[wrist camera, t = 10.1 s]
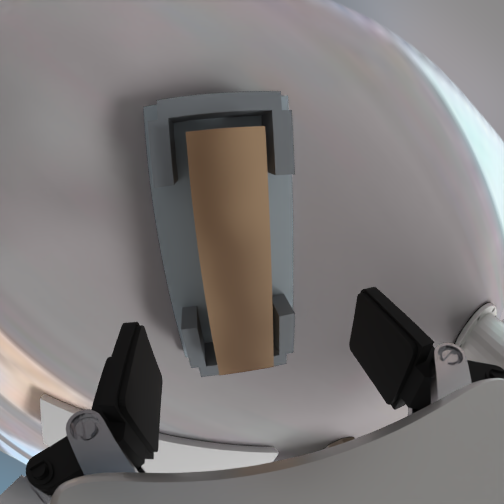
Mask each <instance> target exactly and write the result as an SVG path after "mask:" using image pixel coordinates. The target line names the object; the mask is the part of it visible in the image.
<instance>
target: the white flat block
mask: <svg viewBox="0 0 504 504" xmlns="http://www.w3.org/2000/svg"><path fill="white" fill-rule="evenodd" d="M40 411H41V425H42V435H43V443H44V444H45V445H47V446H51V445H53V444H54V443H56V442H58V441H59V440H61V439H62V438H64V437H66V436H67V434H66V424H67V422H68V420H69V418H70V417H71V416H72V415H73V414H75V413H76V412H78V411H81V409H79V408H76V407H74V406H71V405H69V404H66V403H64V402H62V401H59V400H57V399H55V398H53V397H51V396H49V395H46V394H43V395H42V397H41V398H40ZM278 454H279V452H278V451H277V450H276V449H275V448H274V447H262V446H244V445H231V444H221V443H213V442H205V441H198V440H192V439H186V438H180V437H175V436H170V435H165V434H161V433H159V447H158V452H154V459H145V463H144V464H143V465H142V467H143V468H144V469H145V471H146V472H147V473H183V472H202V471H215V470H225V469H233V468H241V467H248V466H254V465H260V464H265V463H270V462H273V461H274V460H275V458H276V457H277V455H278Z"/></svg>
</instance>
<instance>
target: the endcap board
mask: <svg viewBox="0 0 504 504" xmlns="http://www.w3.org/2000/svg"><path fill="white" fill-rule="evenodd" d="M144 124H145V137H146V149H147V159H148V169H149V178H150V186H151V193H152V201H153V208H154V214H155V221H156V227H157V233H158V239H159V244H160V250H161V255H162V261H163V266H164V271H165V275H166V280H167V285H168V289H169V294H170V298H171V303H172V307H173V311H174V315H175V319H176V323H177V327H178V331H179V335H180V339H181V342H182V346H183V350H184V353H185V357H188V358H189V362H190V365H191V368H195V367H199V371H200V374H201V377H205V376H213V375H219V370H218V365H217V360H216V355H215V350H214V345H213V339H212V334H211V328H210V323H209V317H208V311H207V305H206V299H205V293H204V287H203V280H202V274H201V267H200V260H199V253H198V246H197V238H196V230H195V222H194V214H193V205H192V196H191V187H190V177H189V166H188V155H187V143H186V132H189V131H198V130H208V129H220V128H233V127H252V126H265V133H266V151H267V171H268V192H269V214H270V240H271V269H272V305H273V355H274V366H277V365H283V364H286V356H287V354H288V353H293V352H294V328H295V313H294V311H293V195H292V174H295V170H294V145H293V125H292V110H289V106H288V96H281V91H250V92H225V93H211V94H200V95H190V96H182V97H174V98H167V99H161V100H157V105H151V106H146V107H144Z"/></svg>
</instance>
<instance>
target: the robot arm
mask: <svg viewBox="0 0 504 504" xmlns="http://www.w3.org/2000/svg"><path fill="white" fill-rule="evenodd" d="M496 314H497V309H496V306H495V305H493V304H492V303H487V304H485V305H483V306H482V307H481V308H480V309H479V310H478V311H477V312H476V313H475V314H474V315H473V316H472V317H471V319H470V320H469V321H468V323H467V324H466V325H465V327H464V328H463V330H462V332H461V333H460V335H459V337H458V339H457V341H456V343H455V344H452V343H442V344H439V345H438V346H437V347H436V348H434V347H433V343H434V341H433V340H432V339H431V338H430V337H429V336H427V335H426V334H425V333H424V332H423V331H422V330H421V329H420V328H419V327H418V326H417V325H416V324H415V323H414V322H413V321H412V320H411V319H410V318H409V317H408V316H407V315H406V314H404V313H403V312H402V311H401V310H400V309H399V308H398V307H397V306H396V305H395V304H394V303H393V302H391V301H390V300H389V299H388V298H387V297H386V296H385V295H384V294H383V293H382V292H380V291H379V290H378V289H377V288H376V287H372V288H367V289H363V290H362V291H361V293H360V294H358V296H357V302H356V309H355V315H354V321H353V327H352V332H351V338H350V344H349V345H350V350H351V352H352V353H353V355H354V356H355V357H356V359H357V360H358V362H359V363H360V365H361V366H362V368H363V369H364V371H365V372H366V373H367V375H368V376H369V378H370V379H371V381H372V382H373V384H374V385H375V387H376V388H377V390H378V391H379V393H380V394H381V396H382V397H383V399H384V400H385V402H386V403H387V404H389V405H390V404H391V406H392V407H393V409H394V410H395V409H397V408H400V407H402V406H404V405H405V404H406V405H407V406H408V416H407V417H405V418H403V419H401V420H399V421H397V422H394V423H392V424H390V425H388V426H386V427H383V428H381V429H379V430H376V431H374V432H371V433H369V434H366V435H364V436H361V437H358V438H356V439H353V440H350V441H348V442H345V443H342V444H339V445H336V446H333V447H330V448H326V449H323V450H320V451H316V452H313V453H309V454H305V455H301V456H298V457H293V458H289V459H285V460H280V461H275V462H270V463H265V464H260V465H254V466H248V467H241V468H233V469H225V470H215V471H202V472H183V473H147V472H146V471H145V469H144V468H143V467H142V465H143V464H144V463H145V459H154V452H158V447H159V423H160V407H161V393H162V375H161V372H160V370H159V367H158V365H157V362H156V359H155V357H154V354H153V351H152V348H151V346H150V343H149V340H148V337H147V334H146V331H145V328H144V326H143V325H142V326H140V325H139V323H138V322H131V323H123V325H122V327H121V330H120V333H119V336H118V339H117V342H116V345H115V347H114V351H113V354H112V357H109V358H107V360H106V363H105V366H104V369H103V372H102V375H101V378H100V382H99V385H98V388H97V392H96V395H95V399H94V402H93V406H92V410H81V411H78V412H76V413H75V414H73V415H72V416H71V417H70V418H69V420H68V422H67V424H66V434H67V436H66V437H64V438H62V439H61V440H59V441H58V442H56V443H54V444H53V445H51V446H50V447H48V448H46V449H45V450H43V451H42V452H40V453H38V454H37V455H35V456H33V457H32V458H31V459H30V460H29V462H28V463H27V467H26V476H25V477H24V476H22V475H21V476H20V477H19V478H18V479H17V480H16V481H15V482H14V483H13V484H12V485H11V486H10V487H9V488H7V490H5V491H4V492H3V493H2V494H1V495H0V504H504V320H502V321H500V320H499V319H498V318H497V317H496Z"/></svg>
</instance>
